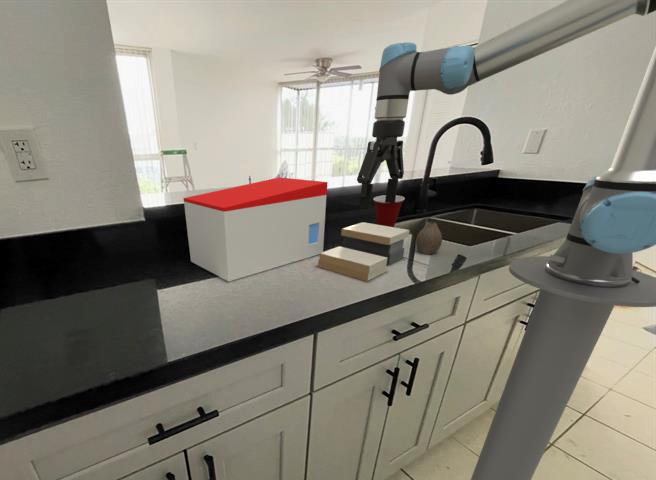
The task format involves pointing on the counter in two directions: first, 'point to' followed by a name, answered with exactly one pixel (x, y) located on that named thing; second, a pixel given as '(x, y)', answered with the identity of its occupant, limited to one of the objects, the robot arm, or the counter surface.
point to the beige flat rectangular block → (375, 233)
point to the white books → (353, 263)
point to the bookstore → (256, 226)
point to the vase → (429, 239)
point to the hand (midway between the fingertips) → (377, 205)
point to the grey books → (376, 248)
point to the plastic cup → (387, 210)
